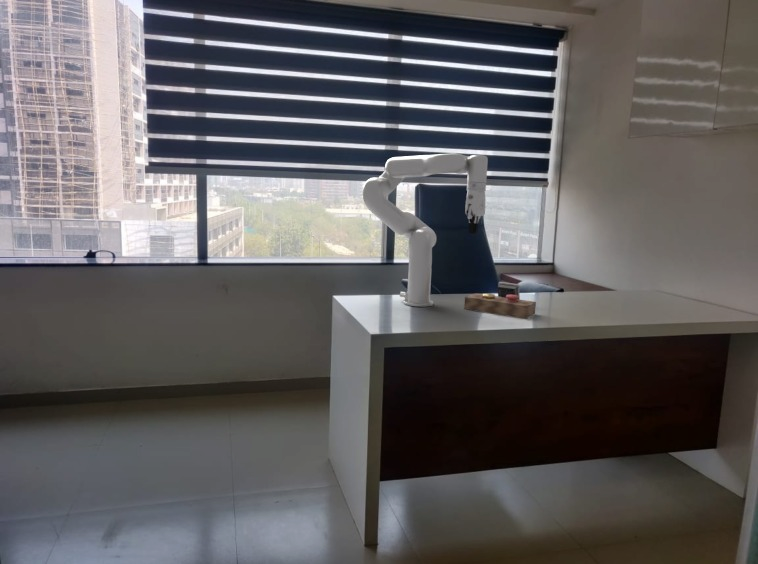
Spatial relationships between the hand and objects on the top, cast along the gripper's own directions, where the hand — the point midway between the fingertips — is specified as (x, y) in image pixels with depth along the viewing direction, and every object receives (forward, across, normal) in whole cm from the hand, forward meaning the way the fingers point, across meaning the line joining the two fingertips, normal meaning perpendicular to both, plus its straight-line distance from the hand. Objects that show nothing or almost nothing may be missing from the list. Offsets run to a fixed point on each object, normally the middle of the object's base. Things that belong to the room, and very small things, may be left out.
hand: (473, 233), depth 223 cm
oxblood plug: (+30, +4, -17) cm, 35 cm away
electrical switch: (+31, +23, -9) cm, 40 cm away
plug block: (+31, +4, -12) cm, 34 cm away
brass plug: (+31, +4, -7) cm, 32 cm away
